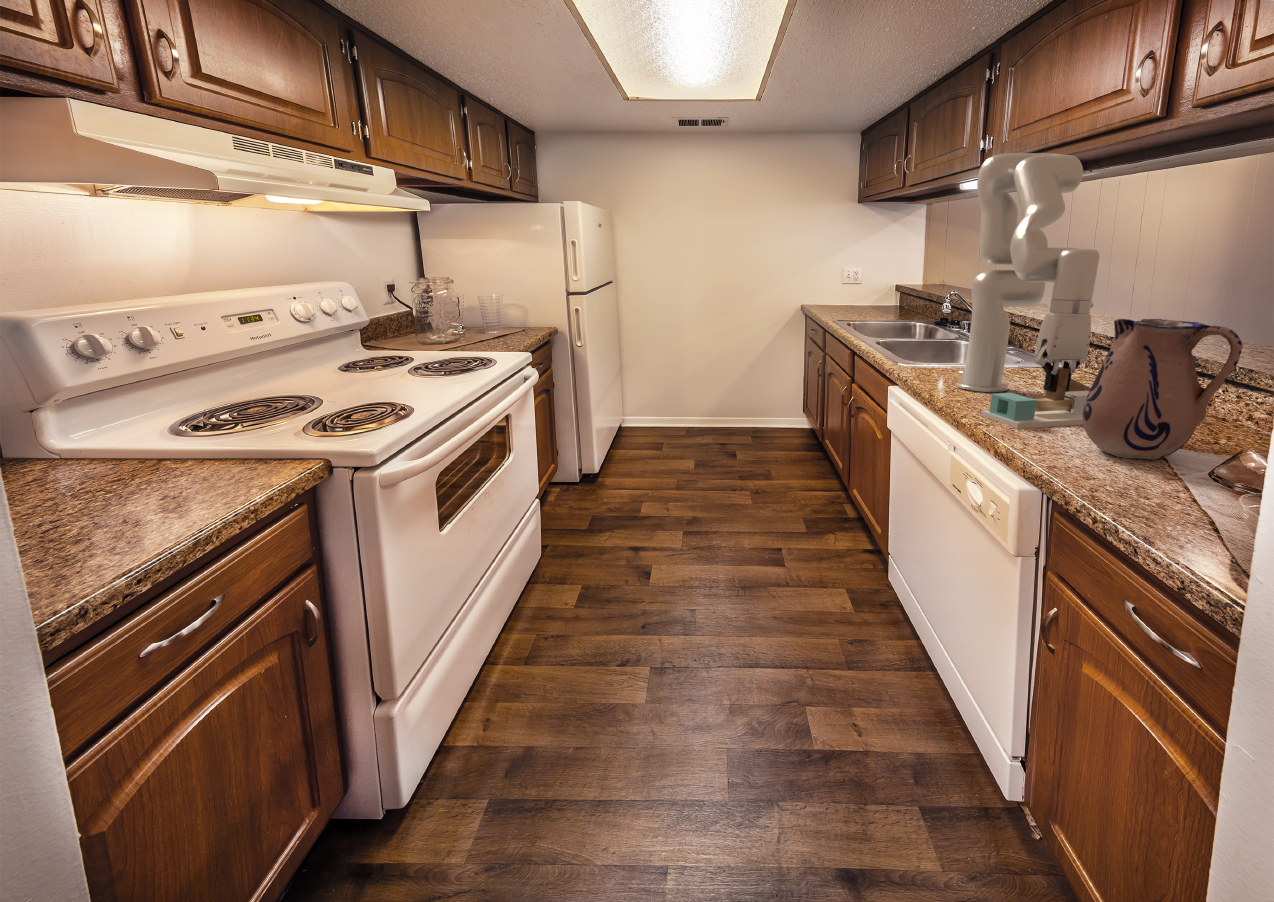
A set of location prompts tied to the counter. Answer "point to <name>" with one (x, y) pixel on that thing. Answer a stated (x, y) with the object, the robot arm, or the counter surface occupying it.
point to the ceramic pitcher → (1152, 388)
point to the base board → (1039, 419)
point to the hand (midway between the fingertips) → (1055, 390)
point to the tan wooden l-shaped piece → (1056, 395)
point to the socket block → (1012, 406)
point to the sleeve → (1076, 402)
